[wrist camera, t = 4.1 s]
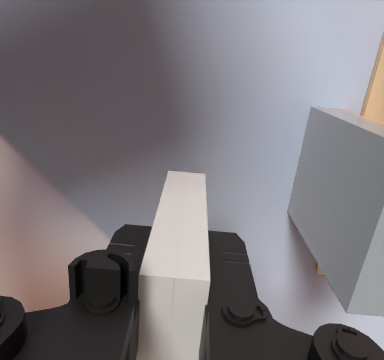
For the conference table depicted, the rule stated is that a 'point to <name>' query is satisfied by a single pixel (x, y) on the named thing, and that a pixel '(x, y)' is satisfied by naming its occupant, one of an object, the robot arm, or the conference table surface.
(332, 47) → the conference table surface
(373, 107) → the mat
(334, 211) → the tile
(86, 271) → the robot arm
